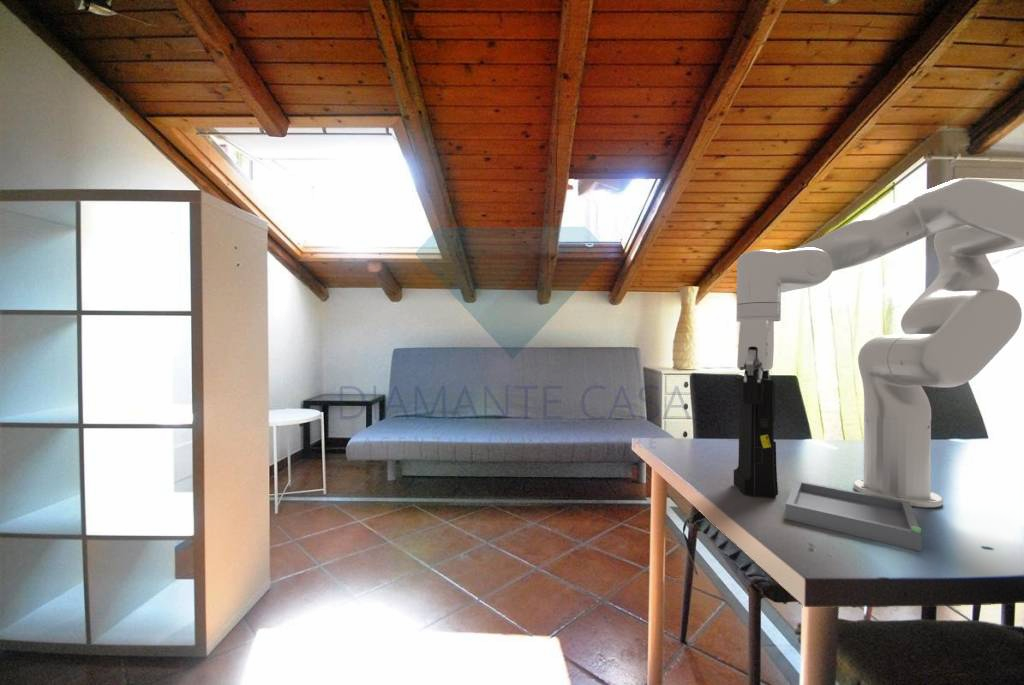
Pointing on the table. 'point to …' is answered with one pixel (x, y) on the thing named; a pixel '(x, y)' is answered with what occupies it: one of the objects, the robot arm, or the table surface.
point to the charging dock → (855, 514)
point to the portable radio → (757, 444)
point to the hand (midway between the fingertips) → (757, 401)
